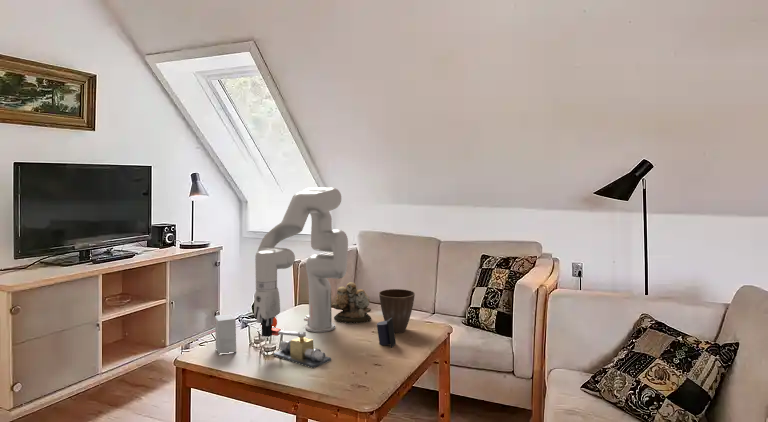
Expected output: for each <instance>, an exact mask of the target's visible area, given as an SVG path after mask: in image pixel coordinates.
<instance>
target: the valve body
mask: <svg viewBox="0 0 768 422" xmlns="http://www.w3.org/2000/svg"><path fill="white" fill-rule="evenodd" d="M279 349H280V350H279V351H276V352H273V356H274V355H276V356H278V357H277V358H279V357H281V358H280V359H282V358H284V359H283V360H286V359H287V361H289V360H290V361H289V362H292V361H294V362H293V363H295V362H297V363H296V364H298V363H300V364H299V365H301V364H303V365H302V366H305V365H306V366H305V367H308V366H309V367H308V368H311V367H312V369H314V367H315V368H317V367H319V366H322V365H324V364H327V363H329V362H332V357H331V356H330V357H329V356H326V353H325V352H323V351H322V350H321V349H320V348H314V339H313V338H307V337H306V336H305V337H296V338H293V339H290V340H287V341H286V340H284V341H281V343H280V344H279ZM276 356H275V357H276Z"/></svg>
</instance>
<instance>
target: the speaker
mask: <svg viewBox="0 0 768 422" xmlns="http://www.w3.org/2000/svg"><path fill="white" fill-rule="evenodd" d="M376 329H377V335H378V337H377V338H378V341H379V343H378V344H379V345H380V346H388V345H390V348H391V349H392V348H394V346H395V345H396V344H397V342H396V341H397V340H396V336H395V334H396V333H394V327H393V320H392V318H390V319H389V320H388V321H384V320H383V321H382V320H381V321H378V322H377V323H376Z"/></svg>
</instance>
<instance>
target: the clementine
mask: <svg viewBox="0 0 768 422" xmlns="http://www.w3.org/2000/svg"><path fill="white" fill-rule="evenodd" d="M277 318H278V316H276V317H275V318H274V319H273V324H272V326H274V327H275V328H277V326H278V320H277Z"/></svg>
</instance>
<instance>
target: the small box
mask: <svg viewBox="0 0 768 422" xmlns="http://www.w3.org/2000/svg"><path fill="white" fill-rule="evenodd" d="M214 319H215V320H214V323H215V324H214V327H215V328H214V329H215V331H214V332H215V350H216V349H217V351H218V353H219V354H220V353H229V352H236V353H237V334H236V333H237V330H236V329H237V328H236V320H237V319H236V318H235V316H234V315H233V314H232V313H228V314H219V315H215V316H214ZM217 351H216V352H217ZM218 353H217V354H218ZM219 354H218V355H219Z"/></svg>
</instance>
